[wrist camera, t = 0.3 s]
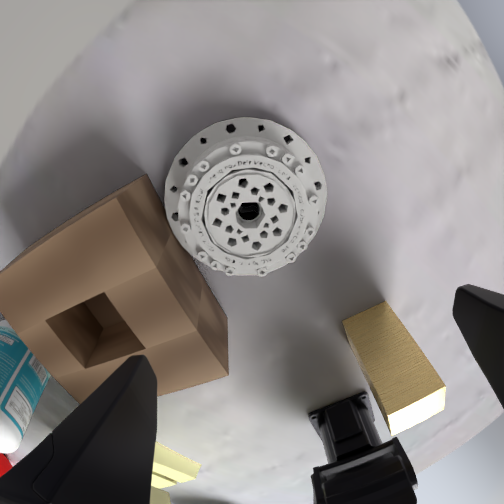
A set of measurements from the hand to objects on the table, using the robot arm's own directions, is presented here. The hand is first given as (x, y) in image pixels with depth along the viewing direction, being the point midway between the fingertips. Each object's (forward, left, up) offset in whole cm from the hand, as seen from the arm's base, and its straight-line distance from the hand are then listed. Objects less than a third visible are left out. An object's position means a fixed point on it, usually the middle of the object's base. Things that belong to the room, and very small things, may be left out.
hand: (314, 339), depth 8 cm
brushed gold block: (-13, -4, -14) cm, 19 cm away
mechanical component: (+1, +1, -14) cm, 14 cm away
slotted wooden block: (-1, +12, -14) cm, 18 cm away
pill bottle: (-3, +26, -14) cm, 30 cm away
